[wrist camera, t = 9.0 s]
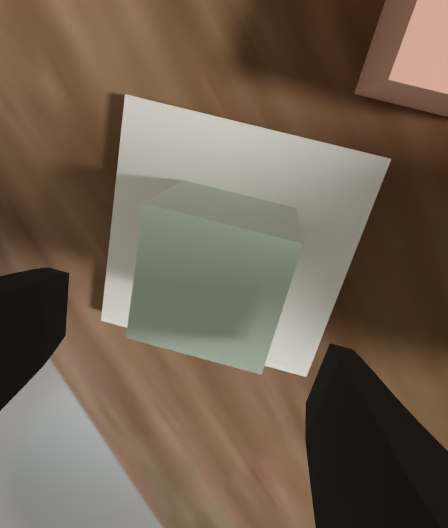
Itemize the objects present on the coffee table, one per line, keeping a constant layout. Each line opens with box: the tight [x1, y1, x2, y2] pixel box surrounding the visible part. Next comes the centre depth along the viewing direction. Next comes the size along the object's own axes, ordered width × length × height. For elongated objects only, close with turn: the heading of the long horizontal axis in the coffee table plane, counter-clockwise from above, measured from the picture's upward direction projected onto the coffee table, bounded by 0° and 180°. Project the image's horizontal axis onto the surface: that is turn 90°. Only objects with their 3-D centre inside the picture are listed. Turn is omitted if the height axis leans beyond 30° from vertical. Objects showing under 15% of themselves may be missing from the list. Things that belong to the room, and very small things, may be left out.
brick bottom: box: [126, 180, 304, 374], centre depth 14 cm, size 5×5×5 cm
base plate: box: [101, 94, 391, 377], centre depth 17 cm, size 11×11×1 cm
